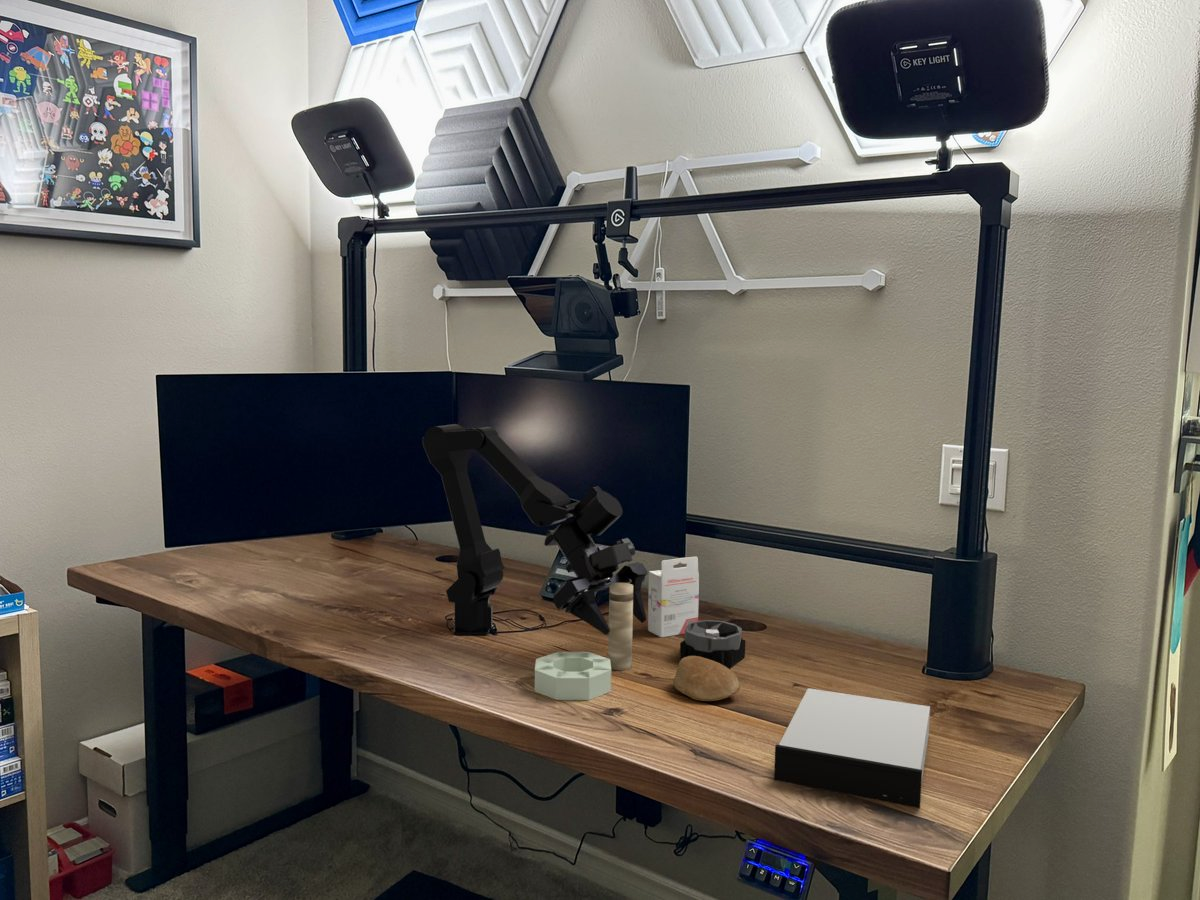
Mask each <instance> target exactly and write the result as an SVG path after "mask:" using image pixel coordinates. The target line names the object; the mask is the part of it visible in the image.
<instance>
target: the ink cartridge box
mask: <svg viewBox="0 0 1200 900" xmlns="http://www.w3.org/2000/svg"><path fill="white" fill-rule="evenodd" d="M660 563H661V565H660V566H661V567H660V568H661V570H649V571H648V591H647V592H648V596H647V597H648V598H647V600H648V601H647V604H648V606H647V607H648V608H647V609H648V610H647V611H648V613H647V615H648V616H647V621H648V622H647V631H648V632H650V633H652V634H654V635H655V636H657V637H659V638H667V637H673V636H678V635H685V629H686V626H687V625H688V624H689V623H690V622H697V621H699V599H700V598H699V590H700V589H699V587H700V585H699V583H700V573H699V559H698V556H689V557H680V558H679V557H678V558H672V559H663V560H661V562H660ZM679 564H681V565H686V566H683V567H674V566H676V565H677V566H678V565H679Z"/></svg>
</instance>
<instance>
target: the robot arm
mask: <svg viewBox="0 0 1200 900" xmlns="http://www.w3.org/2000/svg"><path fill="white" fill-rule="evenodd" d="M422 445H423V449H424V451H425V453H426V456H427V458H428V461H429V463H430V464H431V465H432V466H433V467H434V469H435V470H436V471H437V472H438V473H439V474H440V476H441V480H442V484H443V488H444V492H445V496H446V499H447V503H448V507H449V511H450V516H451V520H452V524H453V527H454V531H455V535H456V538H457V541H458V547H459V553H458V556H457V560H456V561H457V563H456V573H457V574H456V575H457V579H456V580H455V581H454V582H453V583H452V584H451V586H449V587H448V588H447V589H446V591H445V593H446V596H447V599H448V602H449V603H453V604H454V629H453V631H452V634H453V635H480V636H481V635H488V634H489V632H490V630H491V629H492V628H493V604H492V603H490V596H494V595H495V594H496V592H497V590H498V589H497V588H498V587H499V586H500V584H501V583H502V580H504V570H505V569H506V568H505V566H504V564H503V561H502V555H501V550H500V549H499V548H494V549H493V548H491V547H490V546H489V544H488V543H487V541H486V538H485V535H484V530H483V527H482V524H481V520H480V515H479V512H478V507H477V503H476V500H475V499H476V498H475V496H474V491H473V488H472V484H471V480H470V477H469V473H468V465H469V459H470V455H471V451H470V450H475V451H476V452H477V453H478V454H479V455H480V456H481V457H482V458H483V459H484V461H486V462H487V464H489V465H490V467H492V469H493V470H494V471H495V472H496V473H497V474H498V475H499V476H500V477H501V479H503V480H504V481H505V482H506V484H507V485H509V487H511V489H512V490H513V491H514V492H515V494H517V496H518V498H519V501H520V504H521V508H522V509H523V511H524V512H525V514H526V515H527V517H528V518H529V519H530V521H531V522H532V524H534V525H535V526H537V527H538V528H539V527H541V528H542V527H544V528H545V527H549V526H552V525H555V524H558V523H559V524H558V526H557V527H556V528H554V529H550V530H549V529H548V530H547V531H546V537H545V539H544V543H543V545H544V546H545V547H548V546H557V547H558V548H559V550H560V551H561V553H562V556H563V557H564V558H565V560H566V562H567V563H568V565H567V566H566V567H565V570H566V572H567V573H574V574H575V577H573V578H569V579H566V580H565V581H564V582H563V583H562V584H561V585H560V587H559V588H558V589H557V590H556V591H555V592H554V594H553V596H552V597H553V598H552V599H553V600H552V601H553V604H554V605H555V606H554V607H556V609H557V611H558V612H559V611H560V612H561V611H563V610H564V612H565V613H566V614H570V615H573V616H575V617H576V618H578V619H580V620H582V621H584V622H585V623H586V624H588V625H590V626H591V627H592V628H595V629H596V630H597V631H599V632H600V633H602V634H603V635H604V636H607V635H609V632H610V629H609V623H608V622H607V621H606V619H605V617H604V615H603V613H602V612H601V610H600V608H599V607H598V604H597V603H596V592H600V591H605V590H609V587H610V584H613V583H629V584H632V585H633V617H635V618H636V619H637V621H639V622H640V623H641V624H643V623H645V622H646V621H648V617H647V614H646V610H645V605H644V602H643V598H642V596H643V595H642V585H643V582H645V580H646V576H647V575H649V571H648V570H647V568H646V566H645V565H644V564H643V563H641V562H637V561H636V562H633V563H630V564H628V563H627V562H632V561H633V558H632V557H633V556H635V555H636V548H635V546H634V543H632V541H631V540H630V539H629V538H628V537H625V538H622V539H620V540H617V541H615V544H614V545H610V546H608V547H605V546H604V545H602V544H600V545H597V544H596V543H595V541H594V540H593V538H592V537H591V536H592V535H593V536H597V537H598V536H601V535H602V534H603V533H604V532H605V531H606V530H607V529H608V528H610V526H612V525H613V524H615V522H616V521H617V520H618V519H619V518H620V517H621V516H622V515H623V512H624V510H623V508H622V505H621V503H620V501H619V500H618V499H617V498H616V497H614V496H613V495H611V494H610V493H608V492H607V491H604V490H602V489H601V487H600V486H598V485H597V486H595V487H591V489H590V490H589V491H587V493H586V495H584V497H583V498H582V499H580V500H578V499H573V498H570V497H569V495H568V494H566V493H565V492H564V491H563V490H561V489H560V488H559V487H557V486H556V485H555V484H553V483H551V482H548V481H547V480H546V479H543V478H541V477H539V476H538V475H536V473H535V472H534V471H533V470H532V469H531V468H530V467H529V466H528V465H527V464H526V463H525V462H524V461H523V460H522V459H521V457H519V455H517V453H516V452H515V451H513V449H512V448H511V447H510V446H509V445H508V444H507V443H506V442H505V441H504V440H503V439H502V438H501V437H500V436H499V433H498V432H497V430H496V429H494V428H493V427H490V426H485V427H477V428H476V427H473V428H464V427H463V426H461V425H459V424H457V423H454V424H446V425H438V426H437V425H436V426H432V427H429V428H428V429H427V430H426V432H425V433H424V436H423V437H422ZM571 517H572V518H571ZM569 518H571V519H569ZM567 519H569V520H568V521H566V520H567ZM623 563H627V564H625V565H623V566H622V568H620V566H619V565H621V564H623ZM619 569H620V570H619ZM614 572H616V574H615V575H614ZM490 628H491V629H490ZM488 629H489V630H488Z"/></svg>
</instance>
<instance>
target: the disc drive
mask: <svg viewBox="0 0 1200 900" xmlns="http://www.w3.org/2000/svg"><path fill="white" fill-rule="evenodd" d="M930 717H931V706H929V705H922V704H917V703H916V704H915V703H911V702H910V703H909V702H904V701H895V700H889V699H882V698H875V697H869V696H863V695H855V694H848V693H842V692H837V691H836V692H835V691H828V690H822V689H815V688H809V687H808V688H807V689H806V691H805V694H804V696H802V699H801V701H800V703H799V705H798V707H797V708H796V711H795V712H794V715H793V716H792V718H791V721H790V722H789V724H788V726H787V728H786V730H785V731H784V734H783V736H782V738H781V739H780V742H779V744H775V746H774V769H773V771H774V775H773V777H774V778H773V780H774V781H778V782H781V783H782V782H783V783H789V784H793V785H799V786H802V787H808V788H814V789H819V790H824V791H829V792H835V793H840V794H844V795H850V796H855V797H858V798H859V797H860V798H866V799H870V800H876V801H881V802H885V803H886V802H887V803H892V804H894V805H895V804H896V805H901V806H906V807H910V808H911V807H912V808H918V809H920V808H921V800H922V799H921V797H922V783H923V776H924V769H925V762H926V758H927V757H926V756H927V755H926V754H927V750H928V742H929V735H930V734H929V733H930Z"/></svg>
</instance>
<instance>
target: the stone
mask: <svg viewBox="0 0 1200 900" xmlns="http://www.w3.org/2000/svg"><path fill="white" fill-rule="evenodd" d="M672 684H673V686H674V688H675V689H676V690H677V691H679V692H680V693H682V694H683V695H686V696H687V697H689V698H690V699H693V700H696V701H701V702H714V701H715V702H716V701H720V700H724V699H727V698H730V697H731V696H733V695H735V694H736V693H738V692H739V691H740V689H741V684H740V682H739V679H738V677H737V675H736V673H734V671H733V670H731V668H730V669H729V668H727V667H726V666H724V665H722V664H720V663H718V662H715V661H713V660H709V659H706V658H703V657H699V656H688V657H684V658H682V659H681V660H679V663H678V666H677V669H676V672H675V676H674V677H673V681H672Z"/></svg>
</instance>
